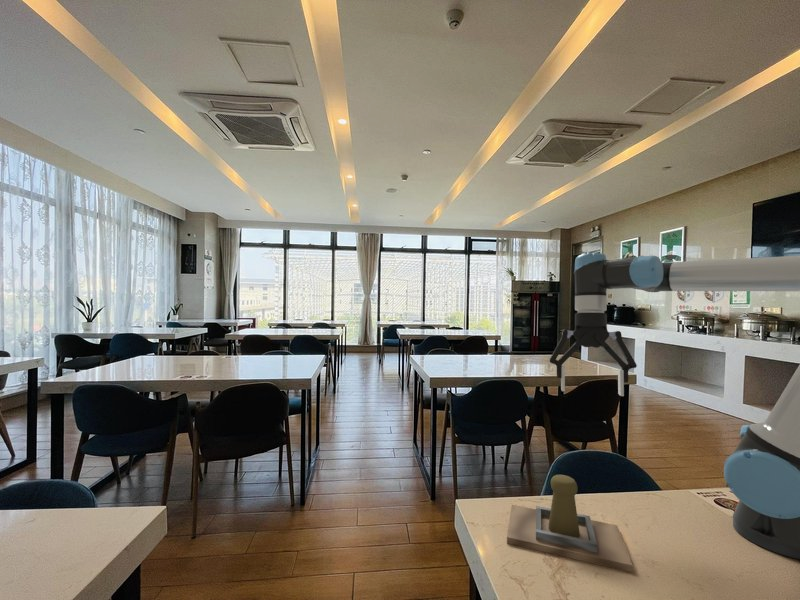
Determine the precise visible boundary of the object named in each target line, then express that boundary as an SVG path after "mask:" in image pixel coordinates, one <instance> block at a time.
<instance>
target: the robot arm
mask: <svg viewBox="0 0 800 600" xmlns="http://www.w3.org/2000/svg"><path fill="white" fill-rule="evenodd" d="M573 274H574V310H575V311H576V312H575V313H574V330H568V329H563V330H562V332H561V337H560V340H559V342H558V343H557V345H556V346H555V348H554V350H553V353H552V354H551V356H550V358H549V363H551V364H553V365H555V366H556V376H557V379H560V384H561V385H560V389H561V392H565V391H566V384H565V383H566V376H565V375H566V374H565V373H566V372H565V371H566V368H565V365H563V364H564V363H566V362H567V360H568V359H569V358H570V357H571V356H573V354H574V353H575V352H576V351H577V349H579V348H580V347H581V346H582V347H584V348H600V347H601V348H602V349H603V350H604V351H605V352H606V353H607V354H608V355H609V357H611V358H612V359H613V360H614V361H615V363H617V365H618V366H619V367H620V368H618V369H617V390H618V391H617V394H618V395H619V396H620V397H624V396H625V387H624V386H625V383H626V384H627V383H628V382H629V371H630V370H631V369H636V368H637V367H638V365H637V363H636V361H635V359H634V358H633V355H631V352H630V350H629V349H628V347H627V346H626V344H625V342H624V341H623V336H622V332H621V331H620V330H615V331H609V330H608V319H607V318H608V314H607V313H605V312H606V311H607V306H608V305H607V303H608V302H607V301H608V300H607V290H614V289H615V290H616V289H617V290H618V289H634V290H640V291H644V292H647V293H659V292H800V255H785V256H783V255H782V256H769V257H768V256H767V257H766V256H765V257H749V258H747V257H746V258H744V257H743V258H726V259H710V260H709V259H708V260H694V261H693V260H692V261H690V260H688V261H671V262H666V261H665V262H662V261H661V259H660V257H659V256H657V255H645V256H644V255H639V256H634V257H625V258H616V259H607V255H606V254H604V253H602V252H601V253H600V252H599V253H598V252H594V253H590V252H589V253H583V254H579V255H578V256H577V257H576V258H575V260H574V271H573ZM572 336H573V337H574V339H576V341H575V342H574V343H573V344H572V345H571V346H570V347H569V348H568V349H567V350H566V352H564V354H563V355H562V356H561V357H560V358H559V359H557V358H558V357H559V355H560V353H561V351H562V349H563V347H564V345H565V343H566V342H567V341H568V340H567V339H570V338H571V337H572ZM609 337H611V339H612V340H614V341H615V343H616V344H617V346H618V348H619V350H620V351H621V354H622V355H623V357H624V359H625V360H626V362H627V363H626V362H625V361H623V359H622V358H621V357H620V356H619V355H618V354H617V353H616V352H615V351H614V349H612V348H611V346H610V345H609V344H608V343H607V342H606V341H607V340H608V338H609ZM739 438H740V441H739V443H738V444H737V446H736V448H735V449H734V451H733V453H731V454H730V455H729V456H728V457H727V458H726V459H725V461H724V465H723V477H724V480H725V483H726V485H727V486H728V488H729V490H730V491H731V493H732V494H733V495H734V496H735V497H736V498H737V499H738V502H737V503H736V507H735V509H734V511H733V513H732V526H733V528H734V530H735V531H736V532H737V533H738V534H740V536H742V537H743V538H745V539H747V540H748V541H750V542H751V543H753V544H755V545H758V546H760V547H762V548H764V549H766V550H768V551H770V552H774V553H777V554H780V555H782V556H785V557H789V558H792V559H796V560H800V364H799V365H798V367H797V368H796V369H795V371H794V373H793V375H792V376H791V378H790V380H789V381H788V383H787V385H786V386H785V388H784V389H783V390H782V393H781V395H780V397H779V398H778V400H777V401H776V403H775V405H774V406H773V407H772V410H771V411H770V412H769V414H768V416H767V418H766V419H765V420H764V421H763V422H757V423H751V424H743V425H742V426H741V427H740V433H739Z"/></svg>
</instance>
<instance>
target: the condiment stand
mask: <svg viewBox="0 0 800 600" xmlns="http://www.w3.org/2000/svg"><path fill="white" fill-rule="evenodd" d="M535 507H536V508H531V507H526V506H522V505H521V506H520V505H517V504H511V507H510V515H509V521H508V528H507V534H506V535H507V536H506V544H510V545H514V546H518V547H523V548H526V549H531V550H535V551H539V552H544V553H546V554H547V553H548V554H552V555H556V556H560V557H565V558H569V559H574V560H577V561H583V562H587V563H592V564H595V565H600V566H604V567H609V568H612V569H617V570H621V571H626V572H629V573H634V568H633V567H634V565H633V563H632V560H631V557H630V555H629V552H628V550H627V549H628V548H627V546H626V543H625V542H624V539H623V537H622V534H621V531H620V529H619V526H618V524H614V523H608V522H603V521H598V520H594V519H593V520H592V519H591V517H590V515H588V514H587V515H585V514H581V513H577V518H578V525H579V532H580V536H579V537H578V538H576V537H571V536H567V535H562V534H557V533H552V532H551V531H550V530H549V519H550V512H551V507H544V506H540V505H536V506H535Z"/></svg>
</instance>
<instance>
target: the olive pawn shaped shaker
mask: <svg viewBox="0 0 800 600" xmlns="http://www.w3.org/2000/svg"><path fill="white" fill-rule="evenodd" d="M550 487H551V488H550V489H551V490H552V499H551V506H550V509H551V512H550V519H549V530H550V531H551V532H552V533H557V534H562V535H567V536H571V537H576V538H578V537H579V536H580V532H579V525H578V518H577V514H578V511H577V505H576V497H575V496H576V494H577V493H578V485H577V481H575V479H574V478H572V477H571V476H569V475H567V474H566V475H565V474H555V475H553V476H552V477H551V479H550Z"/></svg>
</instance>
